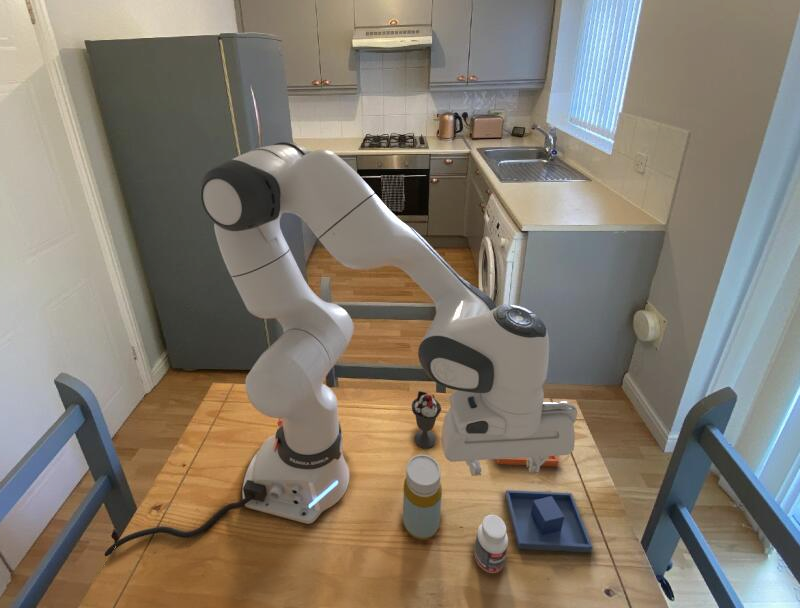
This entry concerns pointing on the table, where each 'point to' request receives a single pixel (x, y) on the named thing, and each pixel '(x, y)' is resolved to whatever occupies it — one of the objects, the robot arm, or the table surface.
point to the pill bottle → (491, 544)
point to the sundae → (425, 418)
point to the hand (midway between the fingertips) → (503, 470)
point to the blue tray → (529, 533)
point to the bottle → (422, 497)
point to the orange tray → (522, 461)
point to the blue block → (547, 515)
